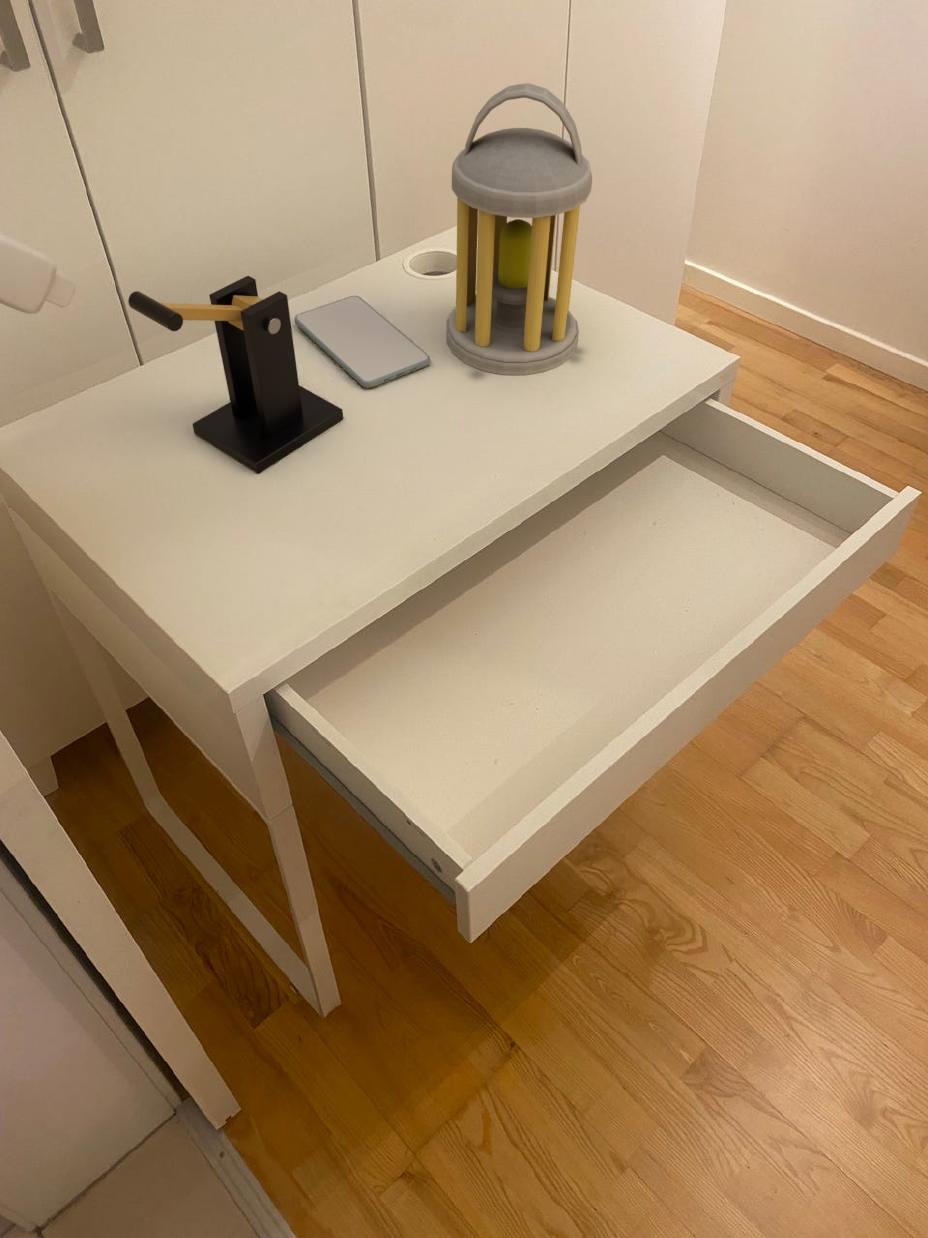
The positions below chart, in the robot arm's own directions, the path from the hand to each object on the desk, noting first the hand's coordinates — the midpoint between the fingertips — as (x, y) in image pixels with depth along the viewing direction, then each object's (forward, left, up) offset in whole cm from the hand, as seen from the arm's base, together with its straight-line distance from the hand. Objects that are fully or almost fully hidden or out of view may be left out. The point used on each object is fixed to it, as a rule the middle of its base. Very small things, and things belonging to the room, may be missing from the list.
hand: (24, 270), depth 66 cm
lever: (+11, +7, -10) cm, 17 cm away
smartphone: (+26, +22, -23) cm, 41 cm away
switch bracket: (+15, +10, -23) cm, 29 cm away
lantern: (+42, +20, -23) cm, 52 cm away
